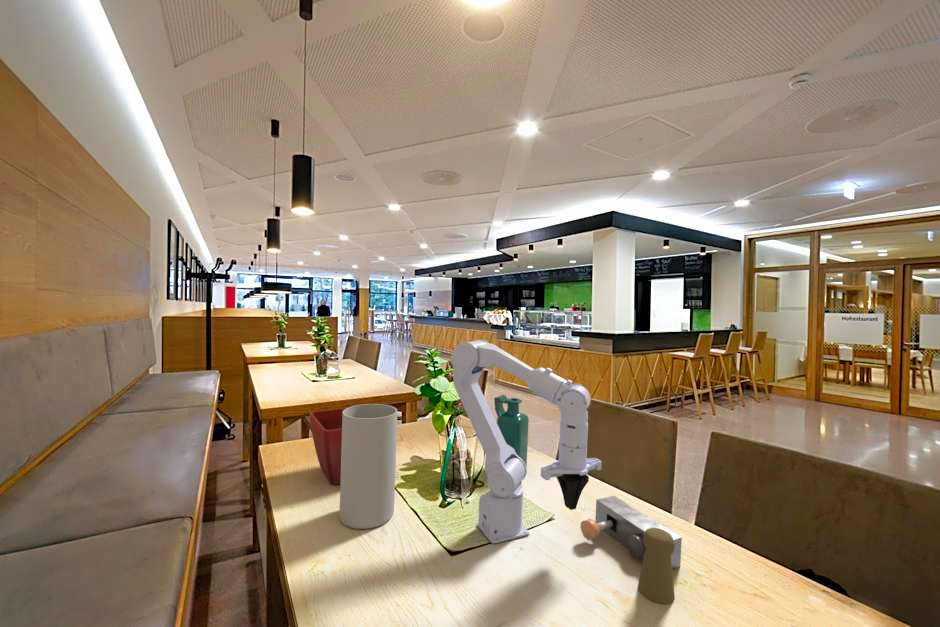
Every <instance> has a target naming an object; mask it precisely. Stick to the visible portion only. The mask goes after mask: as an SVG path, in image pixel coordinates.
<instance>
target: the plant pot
mask: <svg viewBox="0 0 940 627" xmlns="http://www.w3.org/2000/svg"><path fill="white" fill-rule="evenodd" d="M346 408H347V407H342V408H335V409H334V408H333V409H324V410H315V411H310V412H309V422H310V429H311V435H312V440H313V446H314V449H315V453H316V458H317V461H318V463H319V464H318V465H319V466H320V470H321V471H322V473H323V474H324V476H325V477H326V479H327V481H328V482H329V484H330V485H332V486H337V485H340V482H341V447H342V413H343V410H345V409H346Z"/></svg>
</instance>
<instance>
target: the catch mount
mask: <svg viewBox="0 0 940 627" xmlns="http://www.w3.org/2000/svg"><path fill="white" fill-rule="evenodd" d="M608 520H611V521H612V523H613V527H610V528H607V529H603V530H602V531H603V532H604V533H606V534H607V535H608V536H610V537H611V538H613V540H615V541H616V542H618V543H619V544H620V545H622V546H623V547H625V548H626V549H627V546H626V538H627V537H629V536H632V535H635V534H638V535H640V536H641V537H642V538H643V534H644V532H645V531H646V530H647V529H649V528H659V529H662V530H664V531H666V532H668V533H669V534H670V535H671V536H672V538H673V540H674V544H675V549H674V551H673V554H671V563H672V571H673V570H675V569H678V568H681V557H682V543H683V542H682V540H683V539H682V538H683V537H682V536H680V535H678V533H675V532H674V531H672V530H671V529H670V528H667V527H666V526H664V525H662V524H661V523H660V522H657V521H656V520H654V519H653V518H651V517H649V516H648V515H647V514H646V513H643V512H642V511H640V510H638V509H637V508H635V507H633V506H632V505H630V504H628V503H627V502H625V501H624V500H622V499H620V498H619V497H617V496H616V495H610V496H605V497H601V498H597V499H596V502H595V520H594V521H595V522H596V523H600V522H604V521H608ZM637 557H638V558H639V559H640V560H642V561H643V558H644V554H643V555H640V556H637Z"/></svg>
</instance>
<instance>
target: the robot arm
mask: <svg viewBox="0 0 940 627" xmlns="http://www.w3.org/2000/svg"><path fill="white" fill-rule="evenodd" d="M449 358H450V362H451V364H452V375H453V377H452V378H453V382H452V383H453V386H454V388H455V390H456V393H457V395H458V397H459V399H460V401H461V404H462V406H463V408H464V410H465V413H466V414H467V417H468V419H469V421H470V423H471V425H472V428H473V430H474V433H475V434H476V436H477V439H478V441H479V443H480V445H481V447H482V450H483V452H484V454H485V457H484V458H485V460H484V471H485V472H486V476H487V477H486V478H487V486H488V489H489V490H488V491H487V492H485V493H483V494H481V495H480V497H479V500H478V501H479V502H478V522H477V523H476V526H477V527H478V528H479V530H480V531H481V533H483V534H484V536H485V537H486V538H487V539H488V540H489V541H490V543H491V544H493V545H495V544H498V543H501V542H506V541H509V540H513V539H518V538H521V537H525V536H529V535H530V531H529V530H528V529H527V528H526V527H525V526H524V525H523V522H522V521H523V499H524V489H523V485H522V481H523V480H524V479H525V477H526V476H527V474H528V473H527V472H528V469H527V467H526V465H525V463H524V461H523V460H522V459H521V458H520V457H519V456H518V455H517V454H516V452H515V450H514V448H512V447H511V446H509V445H507V444H506V442H505V440H504V437H503V435H502V433H501V431H500V429H499V427H498V425H497V419H496V418H495V416H494V415H493V412H492V411H491V410H492V409H491V408H490V406H489V403H488V401H487V400H486V397H485V396H484V393H483V390H482V388H481V386H480V384H479V380H480V377H481V374H482V372H483V370H484V369H485V368H488V367H496V368H498V369H499V370H502V371H504V372H506V373H508V374H510V375H512V376H514V377H516V378H517V379H520V380H522V382H523V381H524V382H526V384H527V387H528V390H529V391H530V392H532V393H534V394H536V395H537V396H539V397H541V398H543V399H544V400H546V401H548V402H549V403H551V404H553V405H555V406H557V407H558V409H559V411H560V420H559V435H558V436H559V438H558V439H559V440H558V442H559V443H558V459H557V460H556V461H554V462H552V463H550V464H547V465H545V466H541V467H540V477H541V478H542V479H544V480H545V481H550V480H551V478H556V479H557V481H558V482H557V483H558V484H559V486H560V489H561V492H562V496H563V502H564V506H565V507H566V508H568V510H570V511H573V510H576V509H577V505H578V503H579V500H580V497H581V495H582V493H583V490H584V488H585V487H586V485H588V483H589V481H590V480H589V478H590V477H589V472H590V471H593V470H596V471H601V470H602V465H603V464H602V463H603V462H602V460H600V459H599V458H596V457H592V458H589V457H587V456H588V440H589V439H588V435H589V422H588V419H589V415H588V414H589V411H588V410H587V409H588V408H589V406H590V405H591V401H592V397H591V394H590V391H589V389H587V388H586V387H585V386H584V385H583V384H582V383H581V384H580V383H573V381H572V380H570V379H565V378H563V377H561V376H559V375H557V374H555V373H554V372H553V369H552V368H550V367H546V368H544V367H537V368H533V367H531V366H530V365H528V364H526V363H524V362H523V361H521V360H520V359H518V358H517V357H515V356H513V355H511V354H510V353H509V352H506V351H505V350H504V349H501V348H500V347H498V346H497V345H496V344H493V343H489V342H488V340H485V339H476V340H472V341H461V342H459V343H458V344H456V346H455V347H454V349H453V351H452V353H451V356H450V357H449Z"/></svg>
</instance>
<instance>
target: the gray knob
mask: <svg viewBox="0 0 940 627" xmlns="http://www.w3.org/2000/svg"><path fill="white" fill-rule="evenodd" d="M626 546H627V548H626V549H627V550H628V552H629V553H630V554H631V556H633V557H638V556H640V555H643V554H645V549H646V547H645V546H644V543H643V538H642V537H641V536H640V535H638V534H635V535H632V536H629V537H627V538H626Z"/></svg>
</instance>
